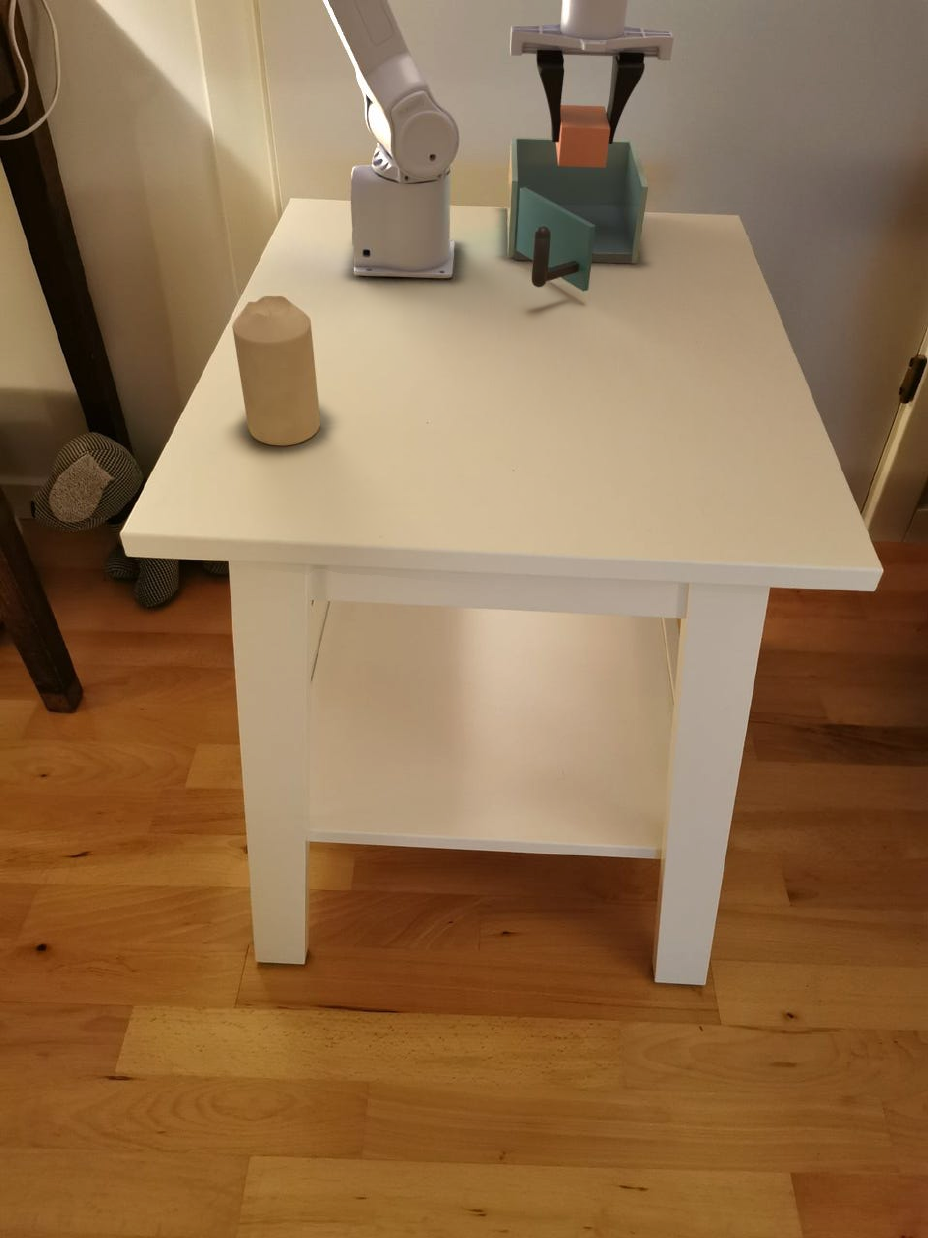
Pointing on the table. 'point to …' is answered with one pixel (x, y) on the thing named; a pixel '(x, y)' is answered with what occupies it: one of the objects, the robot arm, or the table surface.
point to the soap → (583, 136)
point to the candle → (277, 371)
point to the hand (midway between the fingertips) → (581, 139)
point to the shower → (583, 194)
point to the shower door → (554, 241)
